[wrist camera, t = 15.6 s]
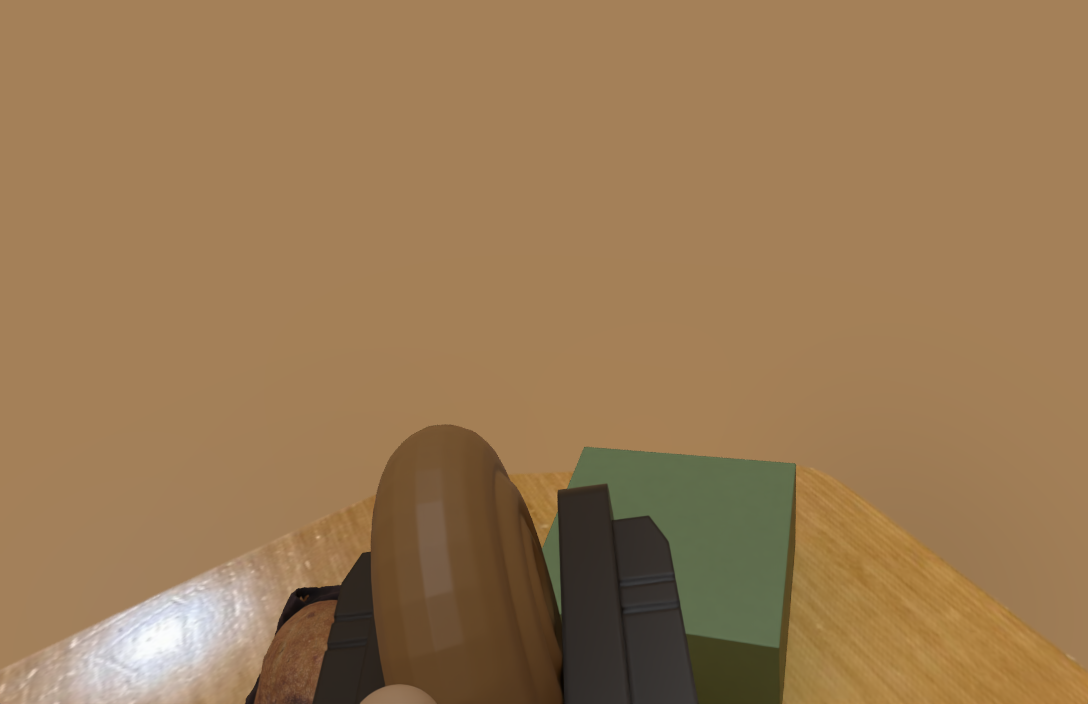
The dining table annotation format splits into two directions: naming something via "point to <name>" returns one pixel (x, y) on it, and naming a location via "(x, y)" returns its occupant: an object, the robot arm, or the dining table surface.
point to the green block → (712, 557)
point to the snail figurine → (460, 580)
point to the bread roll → (297, 648)
